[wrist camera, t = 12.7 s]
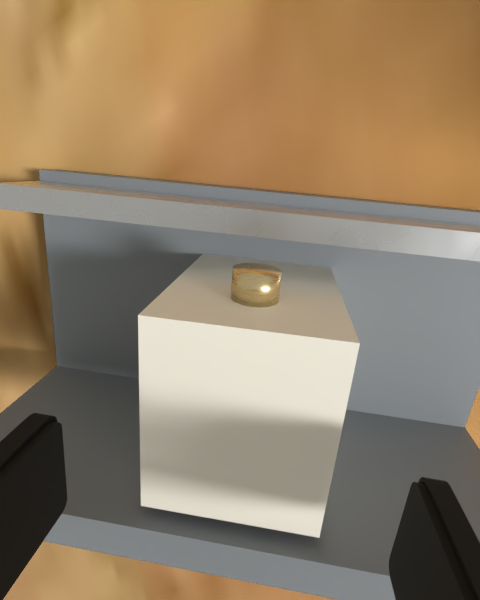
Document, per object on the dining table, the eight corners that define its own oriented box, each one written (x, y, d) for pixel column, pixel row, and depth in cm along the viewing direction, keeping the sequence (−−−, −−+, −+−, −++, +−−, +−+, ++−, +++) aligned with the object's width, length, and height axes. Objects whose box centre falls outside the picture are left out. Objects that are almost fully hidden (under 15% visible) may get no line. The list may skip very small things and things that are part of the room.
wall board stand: (445, 432, 21) (569, 645, 12) (73, 375, 23) (-78, 516, 14) (518, 214, 17) (802, 270, 7) (57, 169, 19) (-173, 169, 10)
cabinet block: (309, 396, 20) (319, 537, 12) (197, 380, 20) (140, 505, 13) (334, 246, 17) (367, 307, 9) (204, 232, 17) (137, 280, 10)
